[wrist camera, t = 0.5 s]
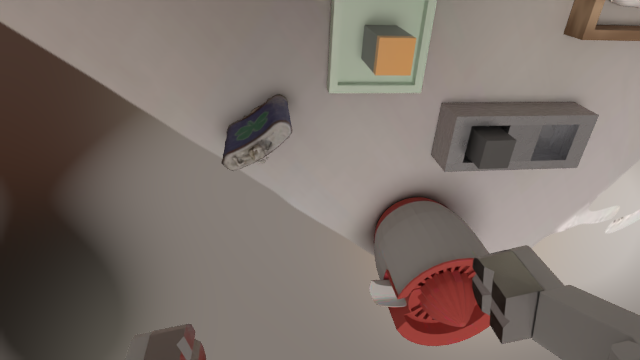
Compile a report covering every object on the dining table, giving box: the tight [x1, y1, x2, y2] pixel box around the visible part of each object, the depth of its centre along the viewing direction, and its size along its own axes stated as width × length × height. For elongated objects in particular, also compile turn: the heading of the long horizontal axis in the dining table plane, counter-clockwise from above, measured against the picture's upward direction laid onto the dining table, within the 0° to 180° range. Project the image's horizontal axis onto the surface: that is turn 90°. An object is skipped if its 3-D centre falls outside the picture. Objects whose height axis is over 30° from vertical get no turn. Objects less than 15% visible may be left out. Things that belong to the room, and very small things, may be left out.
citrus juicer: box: [370, 197, 490, 346], centre depth 58 cm, size 16×17×20 cm
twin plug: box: [465, 126, 517, 169], centre depth 55 cm, size 4×4×7 cm
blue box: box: [222, 95, 292, 171], centre depth 49 cm, size 9×3×11 cm, turn 122°
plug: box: [361, 25, 416, 76], centre depth 47 cm, size 4×4×7 cm
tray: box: [327, 0, 437, 93], centre depth 50 cm, size 12×12×2 cm
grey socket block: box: [431, 102, 599, 172], centre depth 57 cm, size 8×20×5 cm, turn 87°
